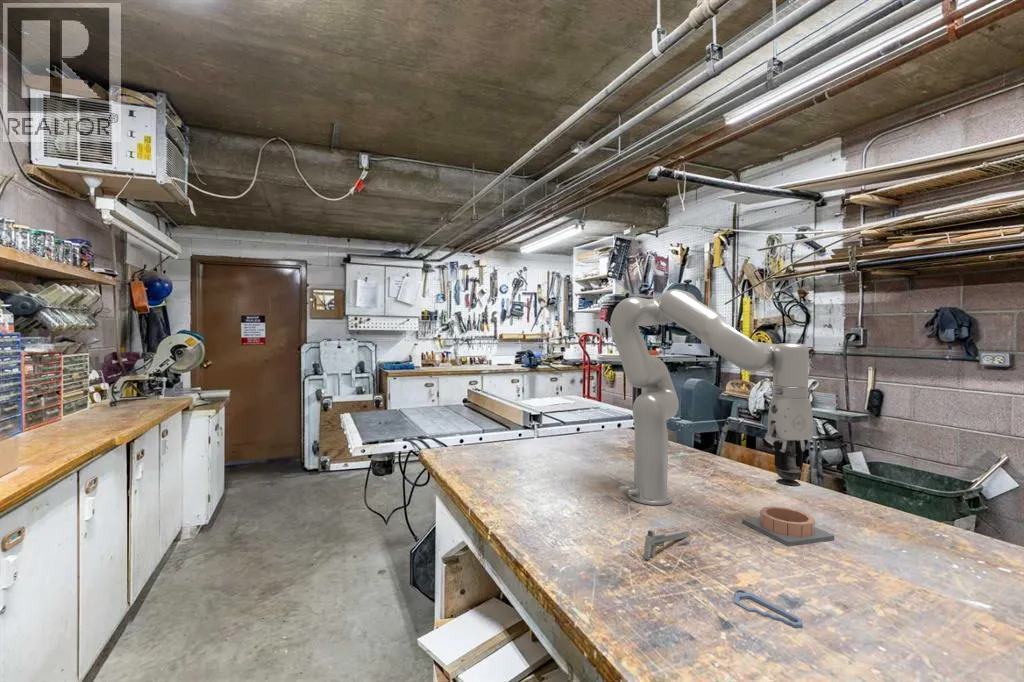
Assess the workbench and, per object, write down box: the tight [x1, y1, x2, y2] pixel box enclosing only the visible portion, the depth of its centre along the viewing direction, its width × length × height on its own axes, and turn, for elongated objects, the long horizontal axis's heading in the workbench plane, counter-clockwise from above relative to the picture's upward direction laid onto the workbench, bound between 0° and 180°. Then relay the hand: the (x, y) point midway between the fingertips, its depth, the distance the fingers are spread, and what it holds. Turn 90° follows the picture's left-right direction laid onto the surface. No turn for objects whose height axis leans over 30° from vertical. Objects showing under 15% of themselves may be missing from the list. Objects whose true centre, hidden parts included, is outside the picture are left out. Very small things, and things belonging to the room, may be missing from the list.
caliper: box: [643, 529, 692, 561], centre depth 107 cm, size 20×1×6 cm, turn 134°
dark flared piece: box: [774, 441, 803, 488], centre depth 116 cm, size 6×6×12 cm
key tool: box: [733, 588, 803, 629], centre depth 82 cm, size 12×1×5 cm
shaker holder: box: [741, 505, 835, 547], centre depth 117 cm, size 14×14×4 cm
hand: (788, 465), depth 116 cm, fingers closed on dark flared piece, 4 cm apart
